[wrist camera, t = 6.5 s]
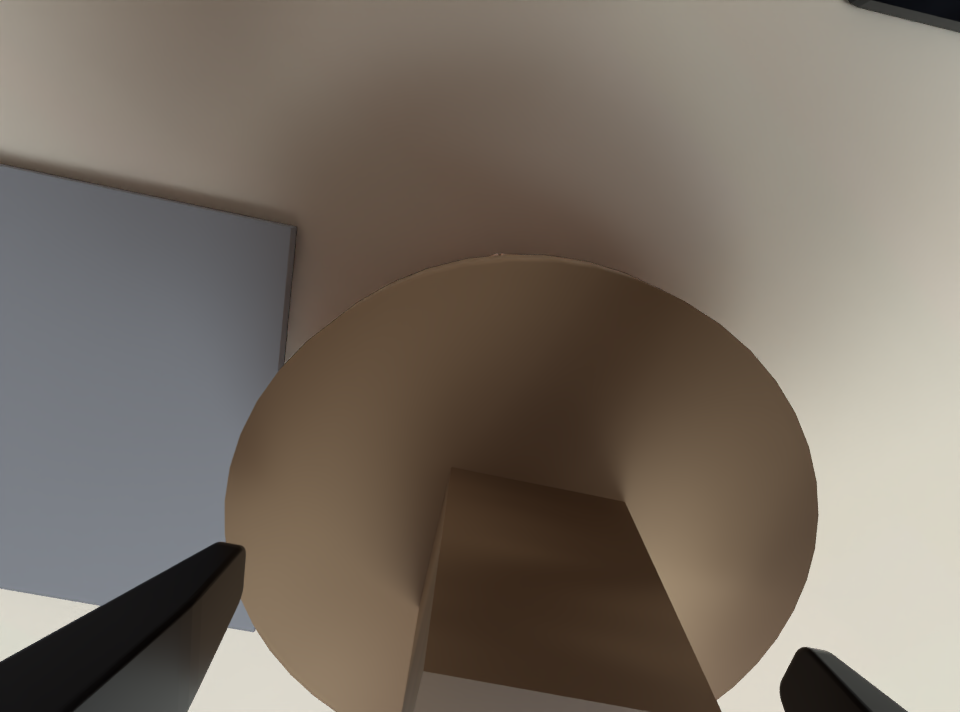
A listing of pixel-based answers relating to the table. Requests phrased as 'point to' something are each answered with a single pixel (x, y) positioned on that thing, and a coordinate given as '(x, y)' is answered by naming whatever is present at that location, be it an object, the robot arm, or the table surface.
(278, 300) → the mat
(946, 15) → the robot arm
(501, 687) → the lid
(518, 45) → the table surface
